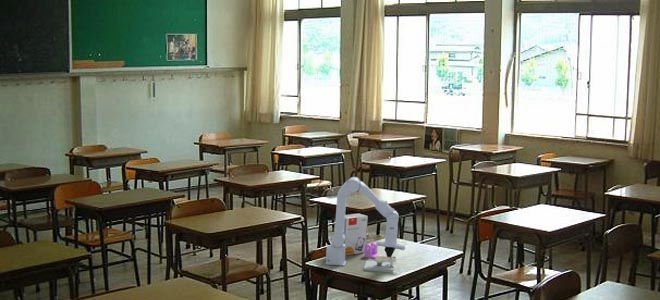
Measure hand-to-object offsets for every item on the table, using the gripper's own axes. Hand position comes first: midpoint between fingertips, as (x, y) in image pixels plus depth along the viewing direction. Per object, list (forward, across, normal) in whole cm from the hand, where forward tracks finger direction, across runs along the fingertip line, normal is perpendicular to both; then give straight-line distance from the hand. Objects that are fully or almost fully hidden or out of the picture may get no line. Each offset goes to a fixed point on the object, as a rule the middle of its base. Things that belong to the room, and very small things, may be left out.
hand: (389, 261), depth 402 cm
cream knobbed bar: (-1, -1, -3) cm, 4 cm away
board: (+2, -3, -5) cm, 6 cm away
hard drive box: (+3, -27, +15) cm, 31 cm away
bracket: (+3, -10, +12) cm, 16 cm away
